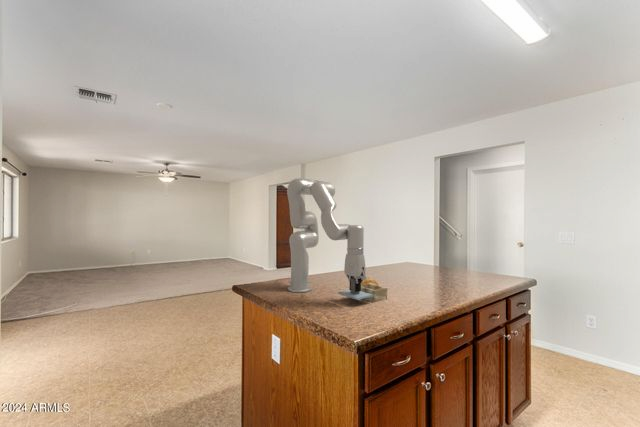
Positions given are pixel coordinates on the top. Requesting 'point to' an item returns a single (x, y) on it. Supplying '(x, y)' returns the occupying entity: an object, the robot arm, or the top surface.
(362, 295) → the lid
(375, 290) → the box
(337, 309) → the top surface
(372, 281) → the croissant
